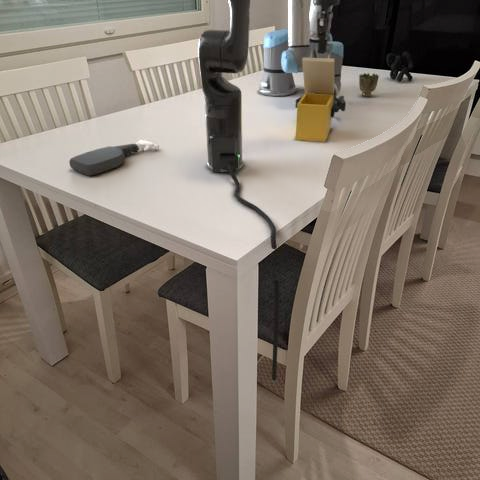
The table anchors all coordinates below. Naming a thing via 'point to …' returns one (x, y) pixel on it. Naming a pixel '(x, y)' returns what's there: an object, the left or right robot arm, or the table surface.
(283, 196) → the table surface
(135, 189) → the table surface
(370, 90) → the cup
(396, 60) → the squiggle
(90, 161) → the spray bottle
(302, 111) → the yellow hollow box
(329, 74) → the lid
